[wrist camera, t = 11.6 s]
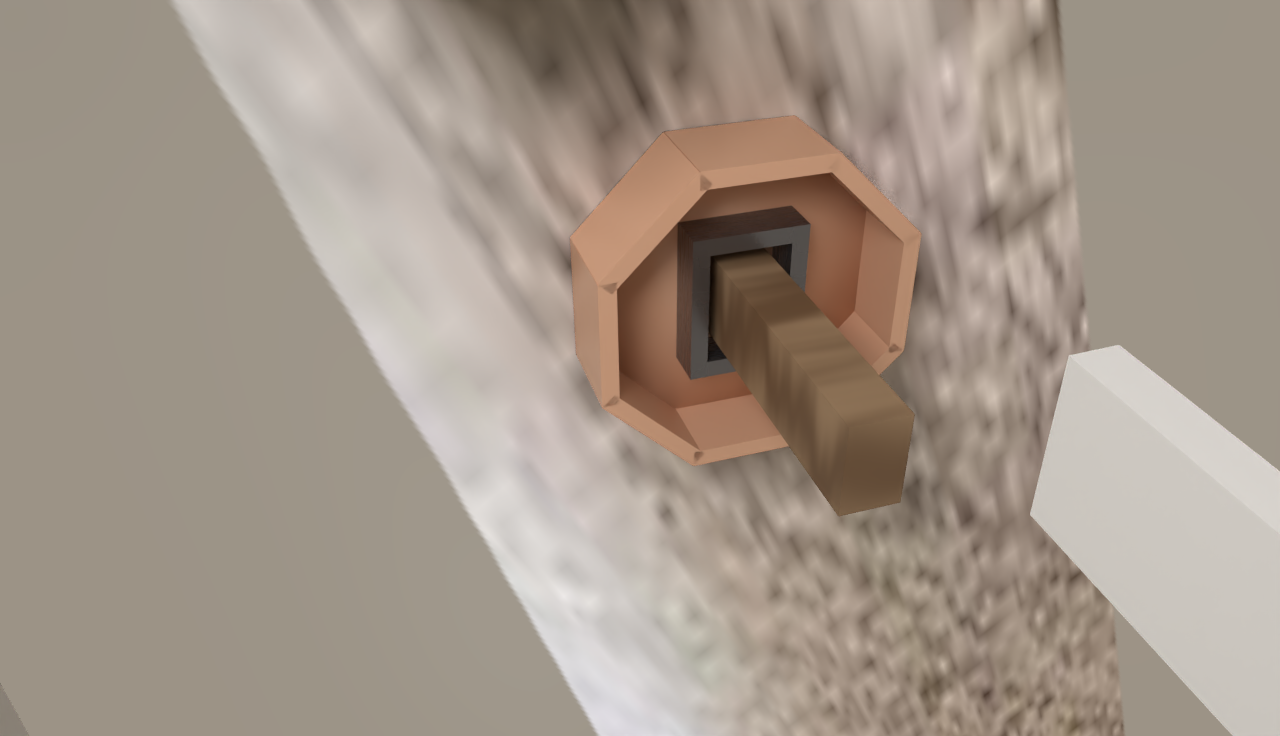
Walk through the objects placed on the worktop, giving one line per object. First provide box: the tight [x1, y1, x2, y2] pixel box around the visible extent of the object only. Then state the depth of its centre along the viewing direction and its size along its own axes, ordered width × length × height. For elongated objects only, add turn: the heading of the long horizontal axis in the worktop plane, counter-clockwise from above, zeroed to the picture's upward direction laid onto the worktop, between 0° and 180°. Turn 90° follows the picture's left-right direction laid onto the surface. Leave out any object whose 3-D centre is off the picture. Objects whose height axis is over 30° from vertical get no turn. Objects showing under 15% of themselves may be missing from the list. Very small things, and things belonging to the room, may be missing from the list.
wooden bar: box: [708, 248, 915, 516], centre depth 43 cm, size 4×2×14 cm, turn 1°
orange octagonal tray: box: [570, 115, 921, 466], centre depth 48 cm, size 15×15×4 cm
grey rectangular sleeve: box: [676, 206, 811, 380], centre depth 48 cm, size 7×5×2 cm
